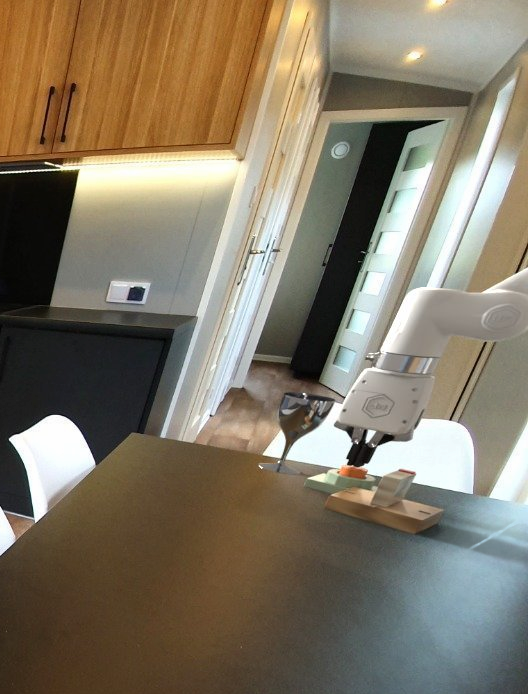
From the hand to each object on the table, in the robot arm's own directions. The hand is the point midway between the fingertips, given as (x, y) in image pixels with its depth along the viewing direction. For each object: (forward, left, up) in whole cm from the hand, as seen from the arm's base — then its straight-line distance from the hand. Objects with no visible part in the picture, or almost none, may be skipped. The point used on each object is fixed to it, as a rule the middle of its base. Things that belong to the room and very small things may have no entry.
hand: (355, 465), depth 117 cm
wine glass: (+12, -5, -6) cm, 14 cm away
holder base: (-8, +9, -5) cm, 13 cm away
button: (0, 0, -2) cm, 2 cm away
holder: (-8, +9, -3) cm, 12 cm away
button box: (0, 0, -5) cm, 5 cm away
